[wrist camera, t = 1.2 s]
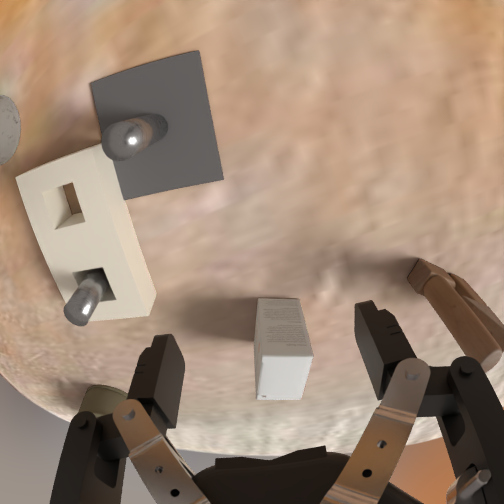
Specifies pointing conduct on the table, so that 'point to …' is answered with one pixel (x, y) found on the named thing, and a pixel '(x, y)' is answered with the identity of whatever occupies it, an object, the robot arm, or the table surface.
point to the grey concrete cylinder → (8, 128)
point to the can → (102, 400)
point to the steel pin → (133, 136)
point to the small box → (281, 350)
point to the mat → (177, 116)
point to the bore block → (88, 231)
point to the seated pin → (86, 297)
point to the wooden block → (461, 312)
